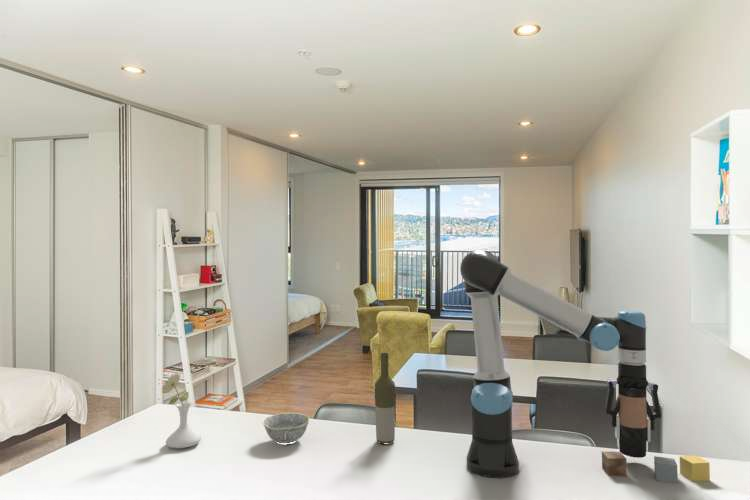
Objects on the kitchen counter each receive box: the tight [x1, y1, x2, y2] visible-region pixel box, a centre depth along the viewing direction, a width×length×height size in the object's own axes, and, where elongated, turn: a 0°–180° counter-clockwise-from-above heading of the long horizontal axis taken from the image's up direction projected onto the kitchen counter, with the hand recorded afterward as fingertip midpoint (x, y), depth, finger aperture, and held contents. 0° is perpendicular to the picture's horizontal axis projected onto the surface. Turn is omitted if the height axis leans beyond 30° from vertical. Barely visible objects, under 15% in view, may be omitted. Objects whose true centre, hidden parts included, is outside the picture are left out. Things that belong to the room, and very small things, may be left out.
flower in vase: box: [161, 372, 202, 449], centre depth 166 cm, size 13×11×25 cm
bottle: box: [374, 352, 396, 444], centre depth 168 cm, size 7×7×30 cm
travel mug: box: [617, 384, 648, 459], centre depth 148 cm, size 8×8×20 cm
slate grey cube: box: [653, 455, 679, 485], centre depth 137 cm, size 5×5×5 cm
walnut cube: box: [601, 450, 628, 477], centre depth 142 cm, size 5×5×5 cm
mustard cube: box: [679, 455, 711, 482], centre depth 138 cm, size 5×5×5 cm
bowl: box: [262, 412, 311, 443], centre depth 169 cm, size 16×16×8 cm
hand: (632, 438), depth 148 cm, fingers closed on travel mug, 8 cm apart
